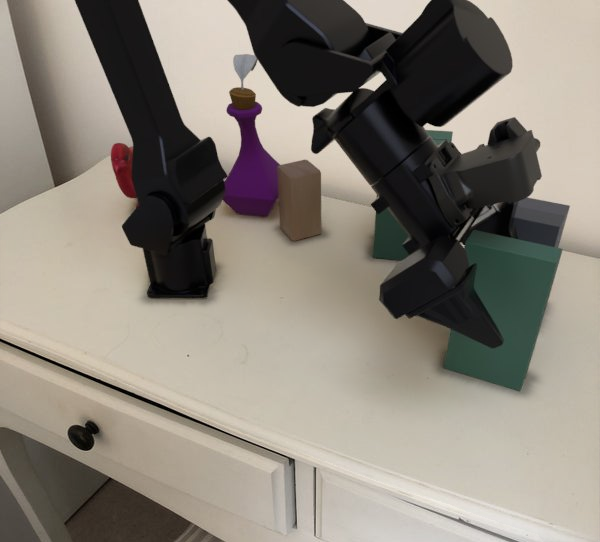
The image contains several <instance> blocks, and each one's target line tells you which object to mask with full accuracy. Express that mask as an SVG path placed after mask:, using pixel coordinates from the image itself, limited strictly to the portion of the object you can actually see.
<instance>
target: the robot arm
mask: <svg viewBox="0 0 600 542" xmlns="http://www.w3.org/2000/svg"><path fill="white" fill-rule="evenodd" d="M227 2H228V3H229V4H230V5H231V7H232V8H233V9H234V10H235V11H236V13H237V14H238V16H239V18H240V19H241V20H242V23H243V24H244V26H245V27H246V31H247V36H248V38H249V42H250V45H251V48H252V51H253V55H255V56H256V58H257V62H258V63H259V64H260V66H261V67H262V69H263V71H264V72H265V73H266V75H267V76H268V77H269V79H270V81H271V83H272V85H274V87H275V89H276V90H277V91H278V93H280V95H281V96H282V98H284V100H286V101H287V102H288V103H290V104H292V105H294V106H296V107H297V108H298V107H299V108H300V107H308V108H315V107H318V106H320V105H324V104H325V103H327V102H328V101H329V100H331V99H332V98H334V97H335V96H336V95H338V94H346V93H348V94H349V93H350V94H349V95H348V96H347V97H346V98H345V99H344V100H343V101H342V102H341V103H340V104H339V105H338V106H337V107H336V108H335V109H332V108H329V107H324V108H322V109H321V110H320V111H318V112H317V113H316V114H314V115H313V116H312V118H311V120H312V121H311V122H312V126H313V130H312V132H313V133H312V137H311V145H310V151H311V153H312V154H315V155H319V153H321V152H322V151H323V150H324V149H326V148H327V147H328V146H330V145H331V144H332V143H333V142H334V141H335V142H336V144H338V146H339V147H340V148H341V150H342V151H343V152H344V154H345V156H347V158H348V159H349V160H350V161H351V163H352V164H353V165H354V167H355V168H356V169H357V171H358V172H359V173H360V174H361V176H362V177H363V179H364V180H365V181H366V182H367V184H368V185H369V186H370V188H371V189H372V190H373V192H374V193H375V194H376V198H375V199H374V200H373V201H372V202H371V203H370V206H371V207H372V208H373V210H374V212H375V213H376V212H377V214H380V213H381V212H382V211H384V210H385V209H386V208H388V210H389V211H390V212H391V214H392V215H393V216H394V217H395V219H396V220H397V221H398V223H399V224H400V225H401V227H402V228H403V229H404V231H405V232H406V233H407V234H408V236H409V237H408V238H407V240H406V241H405V242H404V243H403V245H402V246H403V247H404V249H405V250H406V251H407V252H408V254H409V255H410V254H411V255H410V256H408V257H407V258H405V259H403V260H399V262H397V263H396V264H395V265H394V267H393V268H392V269H391V270H390V272H389V273H388V274H387V276H386V277H385V278H384V279H383V280H382V282H381V283H380V284H379V293H378V301H379V302H380V303H381V304H382V306H383V307H384V308H385V309H386V311H387V312H388V313H389V314H390V315H391V317H392V318H393V319H395V320H398V319H400V318H401V317H403V316H405V317H406V318H407V319H409V320H410V319H413V318H414V317H417V318H421V319H424V320H426V321H429V322H432V323H434V324H437V325H439V326H442V327H445V328H446V329H449V330H450V329H451V330H454V331H456V332H458V333H460V334H462V335H464V336H466V337H468V338H471V339H473V340H475V341H477V342H479V343H481V344H483V345H485V346H487V347H490V348H497V347H499V346H501V345H502V344H503V343H504V339H503V337H502V335H501V333H500V331H499V329H498V328H497V326H496V324H495V322H494V321H493V319H492V317H491V316H490V314H489V312H488V311H487V309H486V308H485V306H484V304H483V303H482V301H481V299H480V298H479V296H478V294H477V293H476V291H475V289H474V281H475V275H476V269H477V264H476V263H475V264H473V265H471V266H469V261H468V257H467V252H466V250H465V249H464V246H465V242H466V240H467V239H468V237H469V236H470V234H471V233H472V231H473V230H477V231H482V232H486V233H491V234H496V235H500V236H505V237H509V238H514V239H518V236H517V232H516V228H515V225H514V217H515V213H516V209H517V205H518V202H519V201H520V200H523V199H525V198H527V197H528V198H530V196H531V195H532V194H533V192H534V191H535V190H534V189H535V188H534V187H535V186H536V184H537V182H538V181H540V180H541V179H542V177H543V174H542V171H541V167H540V162H539V157H538V154H537V152H538V151H539V149H540V148H541V141H540V140H539V139H538V138H536V137H534V134H533V130H532V129H529V130H527V128H525V127H524V125H522V124H521V122H520V121H519V119H517V117H515V116H514V117H510V118H507V119H503V120H500V121H497V122H496V123H495V124H494V126H492V128H491V129H490V131H489V135H488V140H487V145H485V143H481V144H479V145H478V146H476V147H477V148H475V149H473V150H470V151H467V152H463V153H461V152H460V151H459V149H458V147H457V146H456V145H455V144H454V142H449V143H448V141H447V140H445V141H443V142H442V143H441V144H440V145H438V146H437V145H436V143H435V142H434V141H433V139H432V138H431V136H429V134H428V132H427V131H426V130H427V129H426V128H425V127H424V126H426V125H427V124H428V125H429V126H433V127H435V128H437V127H438V128H442V127H444V126H446V125H448V124H449V122H451V121H453V119H455V118H456V117H457V116H459V115H460V114H461V113H462V112H463V111H464V110H466V109H467V108H468V107H470V106H471V105H473V103H475V102H476V101H477V100H478V99H480V98H482V96H483V95H485V94H486V93H487V92H489V91H490V90H491V89H492V88H494V86H496V85H497V84H498V83H500V82H501V81H502V80H503V79H505V78H506V77H507V76H508V75H510V74H511V73H512V70H513V67H514V66H513V57H512V52H511V50H510V46H509V44H508V42H507V40H506V38H505V36H504V34H503V32H502V30H501V28H500V26H499V25H498V24H497V22H496V21H495V20H494V18H493V17H491V16H490V17H488V16H487V15H486V14H485V12H484V11H482V9H480V7H478V6H477V5H476V4H475V3H473V2H472V1H470V0H430V1H429V2H427V4H426V6H425V7H424V9H423V10H422V12H421V14H419V16H418V17H417V18H416V19H415V20H414V21H413V22H412V23H411V24H410V25H409V26H408V27H407V29H405V30H404V31H403V32H400V31H397V30H394V29H393V30H392V29H390V28H386V27H382V26H378V25H374V24H371V23H368V22H365V19H364V18H363V17H362V15H361V14H360V13H359V12H358V11H357V10H356V9H354V8H353V7H352V5H350V4H349V3H347V1H345V0H227ZM74 3H75V4H76V7H77V9H78V12H79V14H80V17H81V19H82V21H83V25H84V27H85V29H86V31H87V35H88V36H89V39H90V41H91V43H92V46H93V49H94V50H95V53H96V56H97V58H98V60H99V63H100V66H101V67H102V70H103V72H104V75H105V77H106V79H107V82H108V85H109V86H110V90H111V92H112V94H113V97H114V99H115V102H116V104H117V106H118V109H119V111H120V114H121V116H122V117H123V121H124V124H125V126H126V128H127V131H128V133H129V136H130V138H131V141H132V146H133V156H132V173H131V179H132V183H133V186H134V189H135V193H136V196H137V198H136V201H137V200H138V203H139V205H138V207H137V208H136V207H135V209H134V211H132V212H131V213H130V215H129V216H128V217H127V219H126V220H125V221H124V222H123V223H122V224H121V229H122V231H123V233H124V235H125V237H126V239H127V242H128V243H129V244H130V246H133V247H135V248H139V249H142V252H143V257H144V263H145V265H146V270H147V276H148V281H149V285H148V288H147V290H146V297H147V298H149V299H206V298H207V297H208V296H209V292H210V289H211V286H212V285H213V284H214V283H215V279H216V275H217V270H218V269H217V264H216V255H215V254H216V253H215V247H214V240H213V239H212V238H211V237H208V234H207V226H206V224H207V223H208V222H209V221H212V220H213V219H215V215H216V211H217V208H219V207H220V206H221V205H222V203H223V198H224V196H225V192H226V188H225V183H224V181H225V179H226V178H227V176H228V173H227V172H226V171H225V169H224V168H223V166H222V164H221V162H220V159H219V155H218V150H217V146H216V143H215V141H214V139H213V138H212V136H206V137H204V138H202V139H200V138H199V137H198V136H197V135H196V134H195V133H194V132H193V131H192V130H191V129H190V128H188V127H187V125H186V124H185V123H184V120H183V119H182V116H181V114H180V113H181V112H180V111H179V108H178V104H177V103H176V100H175V96H174V94H173V91H172V88H171V86H170V82H169V80H168V78H167V74H166V72H165V69H164V66H163V64H162V60H161V58H160V56H159V52H158V50H157V47H156V44H155V42H154V39H153V36H152V33H151V31H150V28H149V26H148V22H147V20H146V18H145V17H146V16H145V14H144V12H143V9H142V6H141V3H140V0H74ZM380 73H381V74H382V75H383V77H384V78H385V80H384V81H383V82H382V83H381V84H380V85H379V86H378V87H377V88H376V89H375V90H372V89H370V88H366V87H363V86H364V85H365V84H367V83H368V82H369V81H371V80H373V79H374V78H375V77H376V76H378V75H380ZM377 195H378V197H377ZM421 247H422V248H421ZM420 248H421V249H420ZM418 249H419V250H418ZM415 251H416V252H415ZM413 252H414V253H413ZM412 253H413V254H412ZM468 266H469V267H468Z"/></svg>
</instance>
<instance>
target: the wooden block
mask: <svg viewBox="0 0 600 542" xmlns="http://www.w3.org/2000/svg"><path fill="white" fill-rule="evenodd" d="M277 178H278V197H279V198H278V213H279V214H278V217H279V228H280V230H282V231H283V232H284V233H285V234H286V236H287V237H288V238H289V239H290V240H291V241H295V242H296V241H299V240H302V239H306V238H310V237H315V236H318V235H320V234H321V233H322V172H321V170H320V169H319V168H318V167H317V166H315V165H314V164H313V163H312V162H311V161H309V160H308V159H300V160H297V161H291V162H288V163H283V164H280V165H279V166H277Z"/></svg>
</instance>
